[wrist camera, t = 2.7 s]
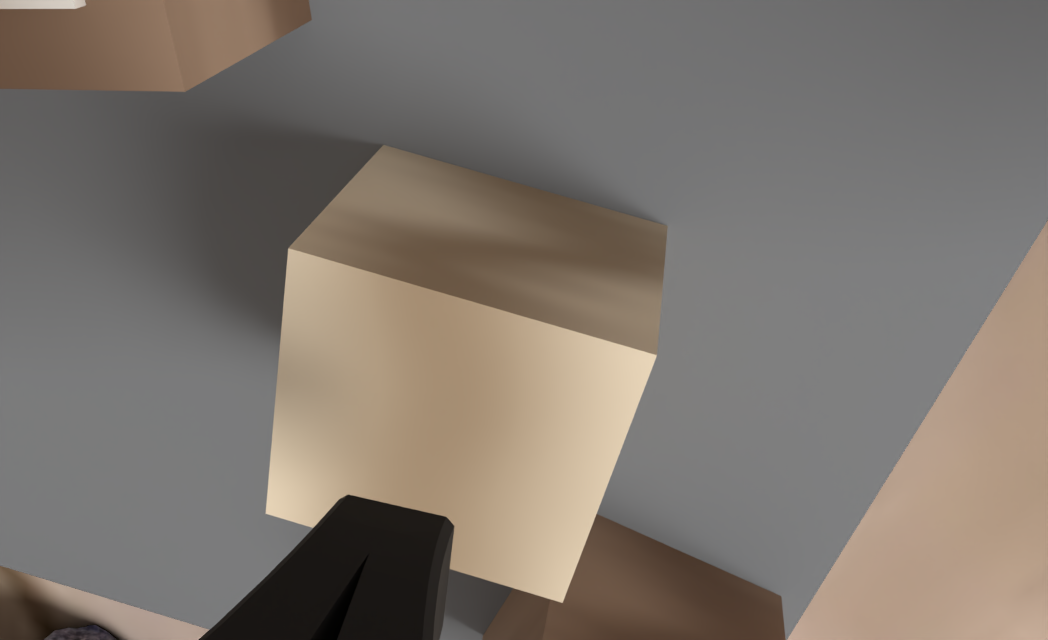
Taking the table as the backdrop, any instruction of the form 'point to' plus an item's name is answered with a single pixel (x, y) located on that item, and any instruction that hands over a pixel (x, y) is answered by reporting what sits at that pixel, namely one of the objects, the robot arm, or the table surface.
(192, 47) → the walnut block
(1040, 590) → the table surface
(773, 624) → the walnut block
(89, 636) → the pumice stone
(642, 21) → the slate mat
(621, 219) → the plain block
